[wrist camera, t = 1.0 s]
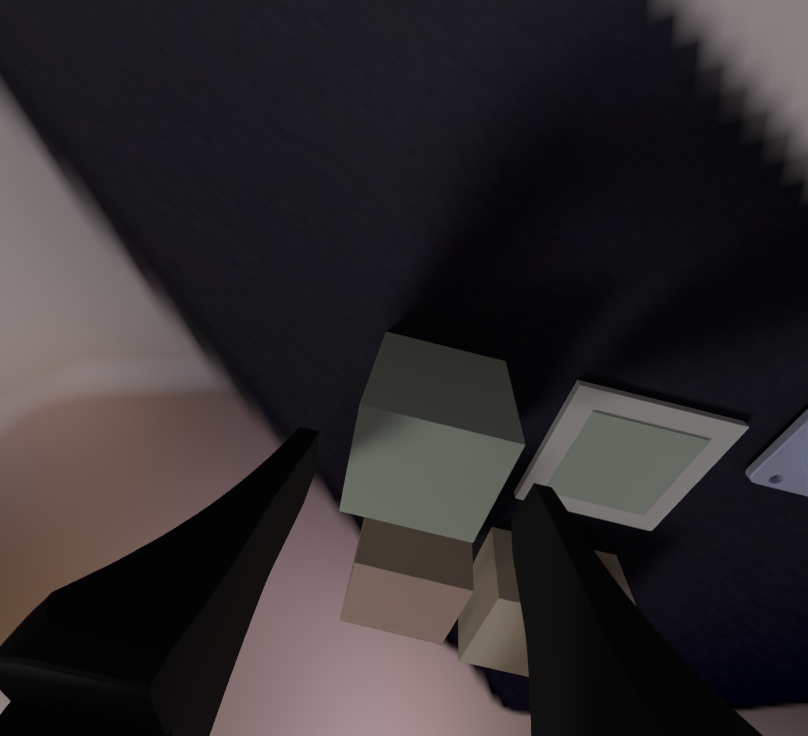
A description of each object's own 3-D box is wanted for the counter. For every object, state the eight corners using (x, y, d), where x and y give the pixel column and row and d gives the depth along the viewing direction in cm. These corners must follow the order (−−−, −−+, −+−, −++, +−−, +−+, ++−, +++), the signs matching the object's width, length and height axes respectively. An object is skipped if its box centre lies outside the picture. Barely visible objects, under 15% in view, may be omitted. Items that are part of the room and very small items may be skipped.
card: (742, 420, 15) (751, 428, 15) (647, 524, 19) (652, 533, 18) (577, 379, 15) (580, 386, 15) (514, 491, 19) (515, 499, 18)
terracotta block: (469, 493, 19) (474, 591, 15) (444, 547, 22) (441, 644, 18) (376, 470, 19) (354, 562, 15) (361, 527, 22) (339, 620, 18)
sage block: (505, 360, 15) (525, 444, 11) (468, 447, 18) (472, 543, 14) (386, 330, 15) (359, 404, 11) (366, 422, 18) (339, 510, 13)
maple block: (614, 551, 21) (646, 631, 17) (562, 612, 24) (580, 688, 21) (491, 523, 21) (498, 598, 17) (458, 588, 24) (458, 660, 21)
